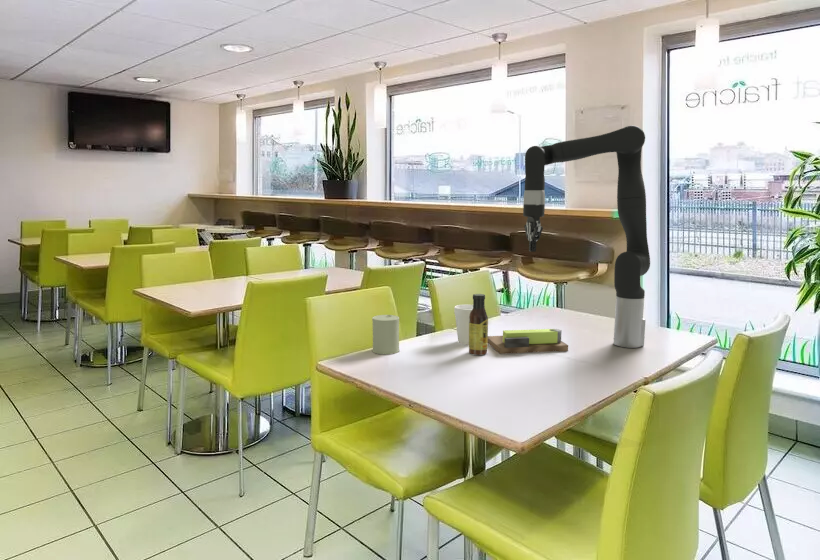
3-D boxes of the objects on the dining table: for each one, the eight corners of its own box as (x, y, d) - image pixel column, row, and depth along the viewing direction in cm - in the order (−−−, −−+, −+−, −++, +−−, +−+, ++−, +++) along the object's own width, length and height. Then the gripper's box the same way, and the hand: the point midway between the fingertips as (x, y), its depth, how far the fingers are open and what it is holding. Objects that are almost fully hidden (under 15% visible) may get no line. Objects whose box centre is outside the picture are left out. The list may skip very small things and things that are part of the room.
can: (404, 349, 196) (404, 314, 194) (391, 355, 187) (391, 320, 186) (380, 345, 200) (380, 312, 198) (367, 352, 191) (367, 317, 189)
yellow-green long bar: (558, 339, 199) (558, 328, 198) (562, 342, 195) (563, 331, 194) (502, 341, 196) (503, 330, 196) (506, 344, 192) (506, 333, 192)
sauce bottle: (486, 356, 187) (487, 296, 184) (467, 355, 188) (468, 296, 185) (488, 351, 193) (489, 293, 190) (469, 350, 194) (470, 292, 191)
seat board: (549, 339, 209) (549, 325, 208) (568, 350, 193) (568, 336, 193) (486, 341, 205) (486, 328, 204) (500, 353, 190) (500, 339, 189)
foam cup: (450, 344, 202) (450, 308, 200) (458, 338, 210) (458, 303, 208) (476, 347, 198) (477, 310, 196) (483, 340, 206) (484, 305, 205)
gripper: (517, 203, 210) (516, 249, 213) (530, 203, 197) (528, 253, 200) (537, 203, 211) (535, 249, 214) (551, 203, 199) (549, 253, 201)
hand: (532, 251), depth 207 cm, fingers closed
